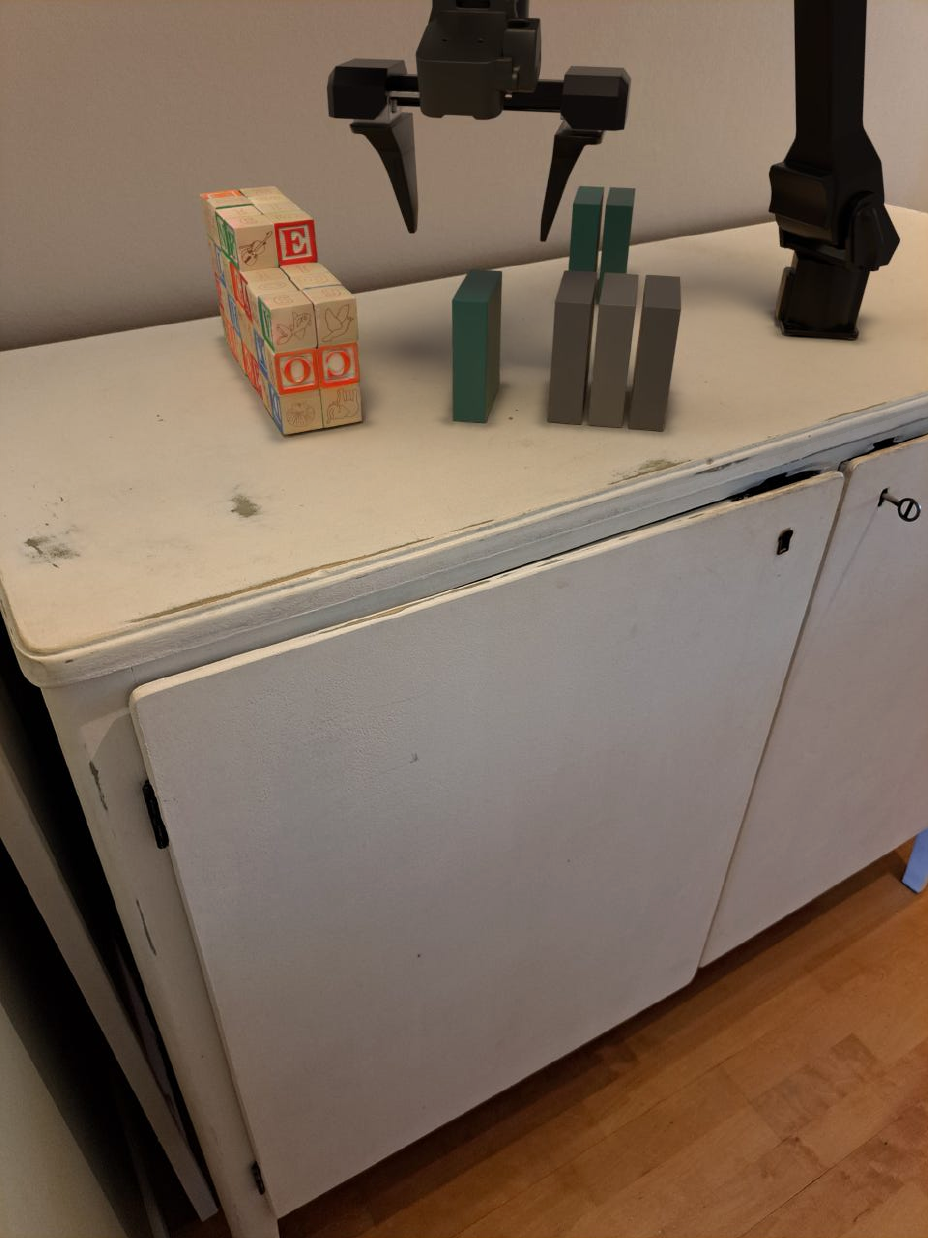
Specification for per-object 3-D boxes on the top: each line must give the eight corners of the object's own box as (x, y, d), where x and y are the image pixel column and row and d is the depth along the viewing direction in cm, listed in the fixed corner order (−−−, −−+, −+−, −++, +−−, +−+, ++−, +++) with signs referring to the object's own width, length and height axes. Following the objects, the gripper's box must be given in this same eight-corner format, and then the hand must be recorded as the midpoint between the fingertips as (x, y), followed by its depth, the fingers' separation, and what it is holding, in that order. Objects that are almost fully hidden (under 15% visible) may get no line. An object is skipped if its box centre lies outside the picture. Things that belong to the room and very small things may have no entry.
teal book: (499, 385, 72) (502, 270, 67) (485, 423, 67) (487, 301, 62) (468, 383, 73) (469, 268, 67) (452, 420, 67) (451, 299, 62)
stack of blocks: (365, 423, 67) (353, 250, 59) (282, 438, 65) (259, 262, 57) (291, 328, 82) (274, 182, 75) (223, 338, 81) (198, 189, 73)
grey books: (663, 392, 71) (680, 276, 66) (663, 431, 66) (681, 308, 61) (556, 384, 73) (564, 269, 67) (547, 422, 67) (554, 300, 62)
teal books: (625, 282, 93) (635, 187, 87) (622, 305, 88) (633, 205, 82) (572, 279, 94) (578, 185, 88) (566, 301, 88) (572, 203, 83)
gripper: (285, -43, 48) (312, 261, 58) (638, -36, 45) (605, 280, 55) (344, -47, 57) (359, 217, 66) (644, -42, 54) (615, 232, 64)
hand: (477, 236), depth 63 cm, fingers open, 9 cm apart
